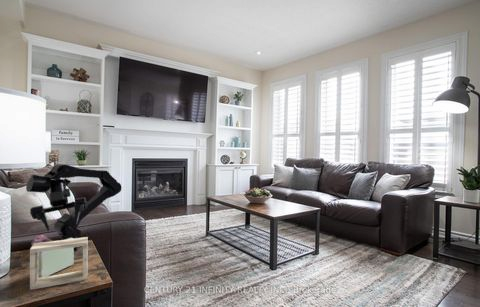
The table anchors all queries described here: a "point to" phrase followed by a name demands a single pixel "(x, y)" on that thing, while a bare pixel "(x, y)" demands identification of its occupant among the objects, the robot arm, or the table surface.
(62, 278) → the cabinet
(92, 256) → the table surface
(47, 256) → the door
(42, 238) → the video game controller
